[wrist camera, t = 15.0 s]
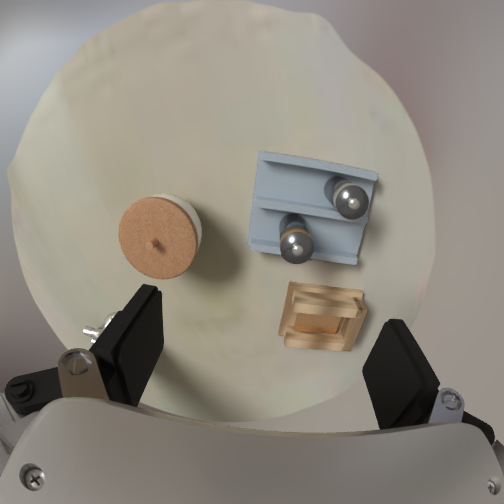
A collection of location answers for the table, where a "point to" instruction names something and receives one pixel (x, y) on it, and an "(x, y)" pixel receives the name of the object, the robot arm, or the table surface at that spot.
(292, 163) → the trough board
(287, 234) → the cell
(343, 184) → the cell
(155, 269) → the lidded jar
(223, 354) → the table surface
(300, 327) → the brown rectangular slab
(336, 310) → the cradle
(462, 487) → the robot arm
